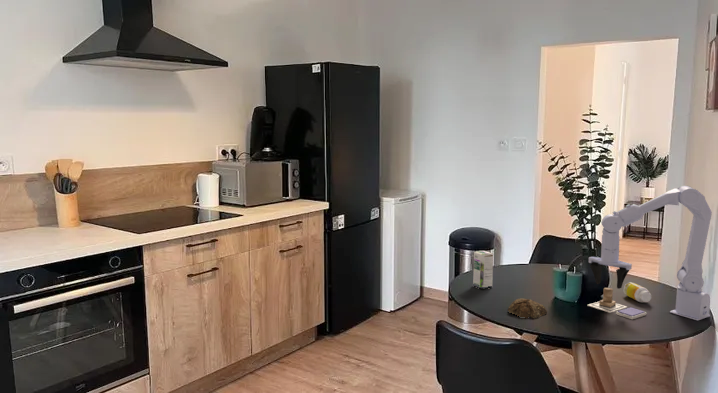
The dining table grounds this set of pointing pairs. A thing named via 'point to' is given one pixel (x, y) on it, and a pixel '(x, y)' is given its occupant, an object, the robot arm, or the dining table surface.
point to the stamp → (607, 298)
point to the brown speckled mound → (527, 308)
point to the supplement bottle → (637, 292)
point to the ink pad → (631, 313)
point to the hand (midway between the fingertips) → (608, 285)
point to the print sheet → (615, 308)
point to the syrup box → (483, 268)
